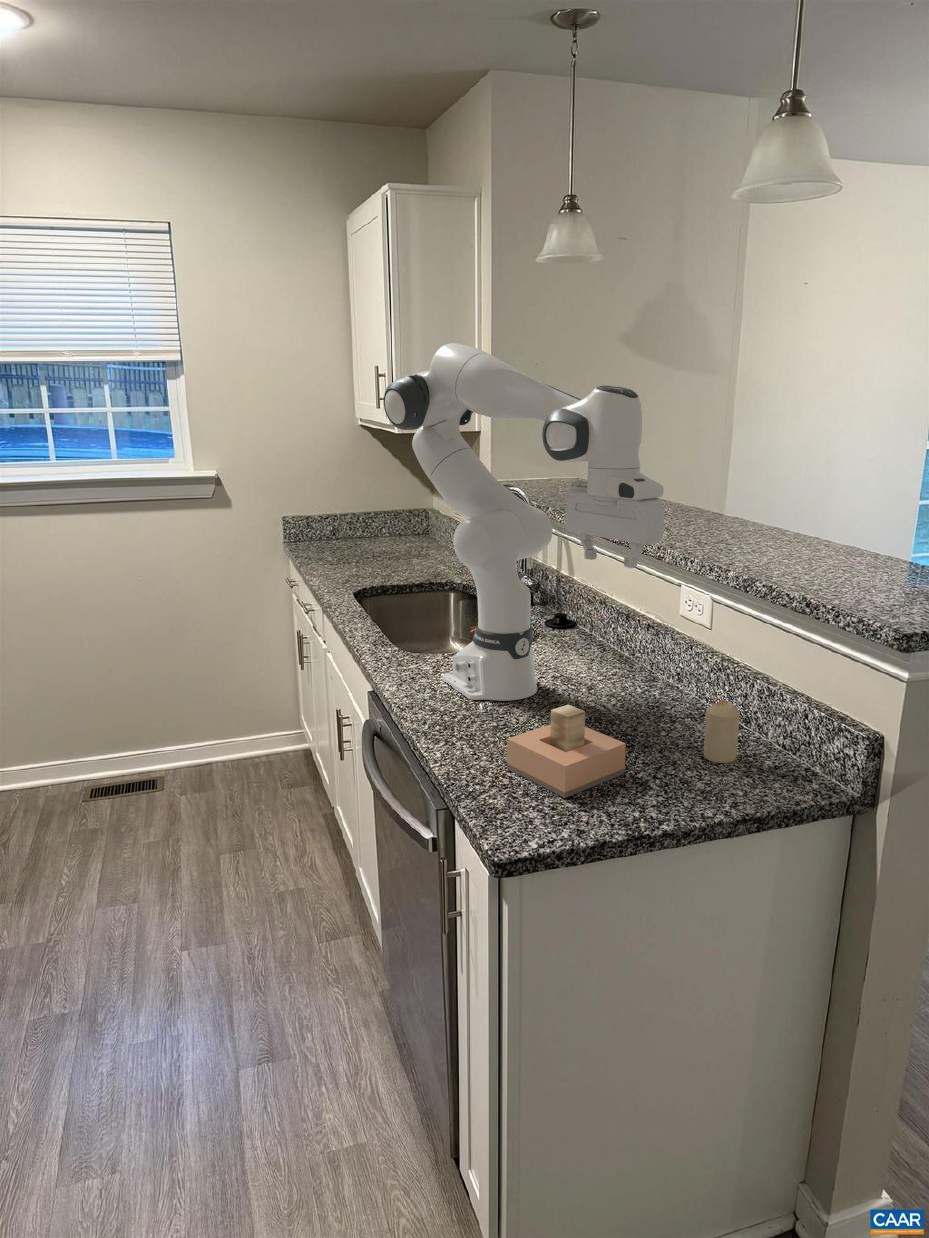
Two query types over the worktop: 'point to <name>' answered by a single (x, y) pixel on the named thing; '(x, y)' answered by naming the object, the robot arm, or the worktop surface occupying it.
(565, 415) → the robot arm
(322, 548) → the worktop surface
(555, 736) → the peg
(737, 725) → the candle
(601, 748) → the well block
